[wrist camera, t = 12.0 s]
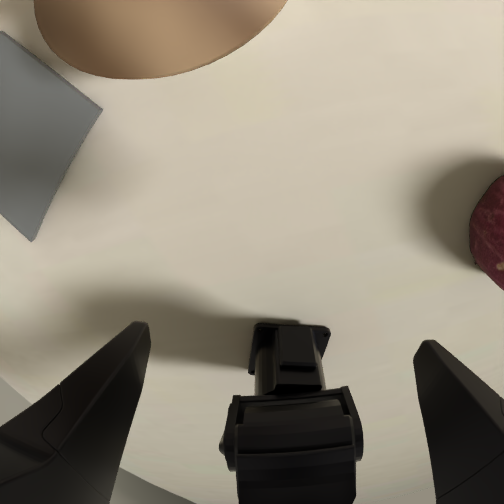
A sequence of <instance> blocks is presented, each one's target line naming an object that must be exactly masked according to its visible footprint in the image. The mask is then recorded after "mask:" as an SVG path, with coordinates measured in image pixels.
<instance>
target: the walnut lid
mask: <svg viewBox="0 0 504 504" xmlns="http://www.w3.org/2000/svg"><path fill="white" fill-rule="evenodd" d="M286 2H287V0H34V9H35V16H36V20H37V24H38V27H39V30H40V32H41V34H42V36H43V38H44V40H45V41H46V43H47V44H48V46H49V47H50V48H51V49H52V51H53V52H54V53H55V54H56V55H57V56H58V57H59V58H61V59H62V60H64V61H65V62H66V63H68V64H69V65H71V66H73V67H75V68H77V69H79V70H81V71H83V72H86V73H89V74H92V75H95V76H100V77H106V78H112V79H152V78H161V77H167V76H173V75H177V74H181V73H184V72H188V71H192V70H195V69H197V68H200V67H202V66H205V65H208V64H210V63H212V62H214V61H216V60H219V59H221V58H223V57H225V56H227V55H228V54H230V53H232V52H233V51H235V50H237V49H238V48H240V47H242V46H243V45H245V44H246V43H247V42H248V41H250V40H251V39H252V38H254V37H255V36H256V35H258V34H259V33H260V32H261V31H262V30H263V29H264V28H265V27H266V26H267V25H268V24H269V23H271V21H272V20H273V19H274V18H275V17H276V15H277V14H278V13H279V12H280V11H281V9H282V8H283V7H284V5H285V3H286Z"/></svg>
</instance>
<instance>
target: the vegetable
mask: <svg viewBox="0 0 504 504" xmlns="http://www.w3.org/2000/svg"><path fill="white" fill-rule="evenodd" d="M469 232H470V249H471V253H472V254H473V257H474V259H475V260H474V261H475V262H474V263H475V264H478V265H479V266H480V268H481V269H482V270H483V271H484V272H485V273H486V274H487V275H488V276H489V277H490V278H491V279H492V280H493V281H494V282H495V283H496V284H497V285H498V286H499V287H500V288H501V289H502V290H504V175H503V176H501V177H500V178H498V179H497V180H496V181H495V182H494V183H493V184H492V185H491V186H490V187H489V189H488V190H487V192H486V193H485V194H484V195H483V197H482V198H481V199H480V201H479V203H478V204H477V206H476V208H475V210H474V212H473V214H472V218H471V219H470V231H469Z"/></svg>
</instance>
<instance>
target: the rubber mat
mask: <svg viewBox="0 0 504 504" xmlns="http://www.w3.org/2000/svg"><path fill="white" fill-rule="evenodd" d="M102 111H103V109H102V108H100V107H99V106H98V105H97V104H95V103H94V102H93V101H92V100H90V99H89V98H88V97H87V96H85V95H84V94H83V93H82V92H80V91H79V90H78V89H77V88H75V87H74V86H73V85H71V84H70V83H69V82H68V81H66V80H65V79H64V78H63V77H61V76H60V75H59V74H57V73H56V72H55V71H54V70H52V69H51V68H50V67H49V66H47V65H46V64H45V63H43V62H42V61H41V60H40V59H38V58H37V57H36V56H34V55H33V54H32V53H31V52H29V51H28V50H27V49H25V48H24V47H23V46H21V45H20V44H19V43H18V42H16V41H15V40H14V39H12V38H11V37H10V36H8V35H7V34H6V33H5V32H3V31H0V214H1V215H2V216H3V217H4V218H5V219H6V220H8V221H9V222H10V223H11V224H12V225H13V226H14V227H15V228H16V229H17V230H18V231H19V232H20V233H21V234H23V235H24V236H25V237H26V238H27V239H28V240H29V241H30V242H32V241H33V240H34V239H35V238H36V235H37V233H38V230H39V228H40V226H41V223H42V221H43V219H44V216H45V214H46V212H47V210H48V208H49V205H50V203H51V201H52V199H53V197H54V195H55V193H56V191H57V189H58V187H59V185H60V183H61V181H62V179H63V177H64V175H65V173H66V171H67V169H68V167H69V166H70V164H71V162H72V160H73V158H74V157H75V155H76V153H77V151H78V149H79V148H80V146H81V144H82V143H83V141H84V139H85V138H86V136H87V134H88V133H89V131H90V129H91V128H92V126H93V125H94V123H95V121H96V120H97V118H98V117H99V115H100V114H101V112H102Z"/></svg>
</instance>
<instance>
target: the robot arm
mask: <svg viewBox="0 0 504 504" xmlns="http://www.w3.org/2000/svg"><path fill="white" fill-rule="evenodd" d="M259 329H262V330H259ZM323 333H326V334H323ZM330 336H331V332H330V329H329V328H325V327H307V326H291V325H277V324H264V323H258V324H256V325H255V327H254V333H253V339H252V346H251V353H250V359H249V366H248V373H249V374H250V375H255V396H241V395H233V399H232V403H230V406H229V408H228V416H227V421H226V426H225V431H224V433H223V436H222V438H221V441H220V443H219V451H220V452H221V453H222V454H223V455H224V456H225V459H226V461H227V466H228V469H229V471H236V480H237V494H238V499H239V504H352V503H353V501H354V499H355V497H356V462H357V461H360V460H361V459H362V456H363V447H364V446H363V431H362V425H361V421H360V418H359V415H358V412H357V409H356V407H355V404H354V401H353V398H352V396H351V393H350V390H349V388H348V386H343V387H341V388H336V389H328V390H326V385H325V379H324V373H323V367H322V361H321V360H322V357H323V355H324V352H325V349H326V347H327V344H328V341H329V338H330ZM150 348H151V339H150V332H149V326H148V323H146V322H142V321H134V322H132V323H131V324H130V325H129V326H127V327H126V328H125V329H124V330H123V331H121V332H120V333H119V334H118V335H117V336H115V337H114V338H113V339H112V340H110V341H109V342H108V343H107V344H106V345H104V346H103V347H102V348H101V349H100V350H98V351H97V352H96V353H95V354H94V355H92V356H91V357H90V358H89V359H88V360H86V361H85V362H84V363H83V364H82V365H80V366H79V367H78V368H77V369H76V370H75V371H73V372H72V373H71V374H70V375H69V376H67V377H66V378H65V379H64V380H63V381H61V382H60V385H59V384H58V385H57V386H55V387H54V388H53V389H52V390H51V391H50V392H48V393H47V394H46V395H45V396H43V397H42V398H41V399H40V400H38V401H37V402H36V403H34V404H33V405H32V406H30V407H29V408H27V409H26V410H24V411H23V412H21V413H20V414H19V415H17V416H15V417H14V418H12V419H11V420H9V421H8V422H7V423H5V424H4V425H2V426H1V427H0V504H109V503H110V502H109V501H110V498H111V495H112V491H113V487H114V483H115V480H116V476H117V472H118V468H119V465H120V461H121V458H122V454H123V451H124V447H125V444H126V441H127V437H128V434H129V431H130V427H131V424H132V421H133V417H134V414H135V411H136V408H137V405H138V401H139V398H140V395H141V392H142V388H143V383H144V378H145V373H146V368H147V363H148V358H149V353H150ZM413 364H414V371H415V378H416V385H417V392H418V399H419V404H420V409H421V413H422V418H423V422H424V427H425V432H426V438H427V443H428V448H429V454H430V460H431V466H432V473H433V480H434V487H435V495H436V504H504V399H503V398H502V397H500V396H499V395H498V394H497V393H496V392H495V391H494V390H493V389H491V388H490V387H489V386H488V385H487V384H486V383H485V382H483V381H482V380H481V379H480V378H479V377H478V376H477V375H475V374H474V373H473V372H472V371H471V370H470V369H469V368H467V367H466V366H465V365H464V364H463V363H462V362H460V361H459V360H458V359H457V358H456V357H454V356H453V355H452V354H451V353H450V352H449V351H447V350H446V349H445V348H444V347H443V346H441V345H440V344H439V343H438V342H437V341H435V340H424V341H423V342H422V343H421V345H420V347H419V349H418V350H417V352H416V354H415V356H414V359H413Z"/></svg>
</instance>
